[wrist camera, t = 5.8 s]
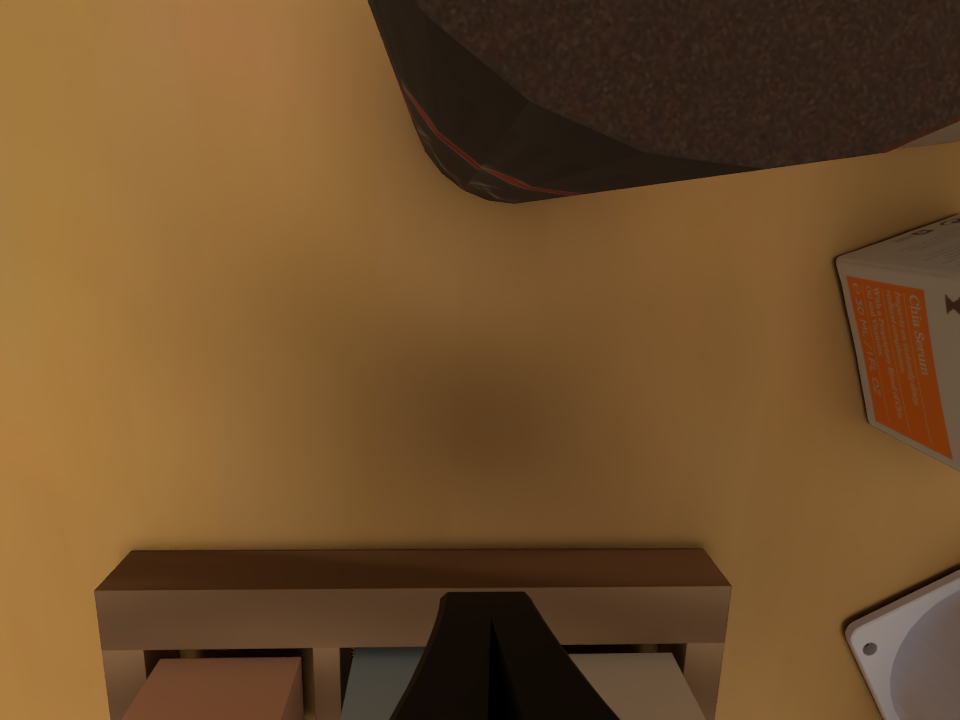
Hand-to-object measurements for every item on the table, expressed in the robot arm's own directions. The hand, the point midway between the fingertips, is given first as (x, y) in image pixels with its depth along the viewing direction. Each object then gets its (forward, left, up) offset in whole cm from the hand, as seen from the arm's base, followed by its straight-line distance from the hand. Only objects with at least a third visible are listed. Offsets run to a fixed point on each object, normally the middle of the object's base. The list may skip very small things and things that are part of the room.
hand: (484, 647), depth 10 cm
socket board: (-7, +6, -10) cm, 14 cm away
